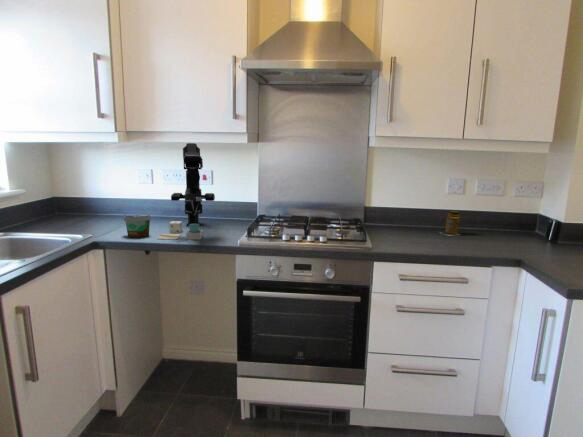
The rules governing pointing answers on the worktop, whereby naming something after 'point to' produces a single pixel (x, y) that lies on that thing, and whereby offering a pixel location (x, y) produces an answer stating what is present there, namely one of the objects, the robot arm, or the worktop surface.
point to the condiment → (452, 224)
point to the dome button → (193, 228)
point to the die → (175, 226)
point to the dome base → (194, 235)
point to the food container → (137, 226)
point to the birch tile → (169, 236)
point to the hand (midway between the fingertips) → (193, 215)
